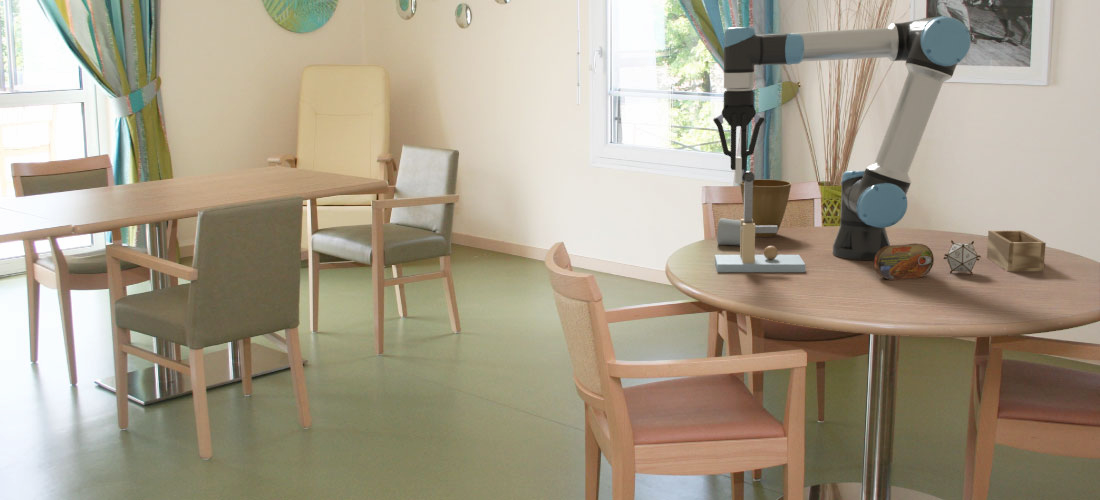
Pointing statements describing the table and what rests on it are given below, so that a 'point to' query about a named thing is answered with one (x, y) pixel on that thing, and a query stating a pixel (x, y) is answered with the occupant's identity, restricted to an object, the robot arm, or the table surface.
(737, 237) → the ceramic mug
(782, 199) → the plant pot
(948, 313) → the table surface
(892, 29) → the robot arm
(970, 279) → the table surface
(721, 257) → the base
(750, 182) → the lever
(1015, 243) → the box
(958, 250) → the game die
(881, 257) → the tin
